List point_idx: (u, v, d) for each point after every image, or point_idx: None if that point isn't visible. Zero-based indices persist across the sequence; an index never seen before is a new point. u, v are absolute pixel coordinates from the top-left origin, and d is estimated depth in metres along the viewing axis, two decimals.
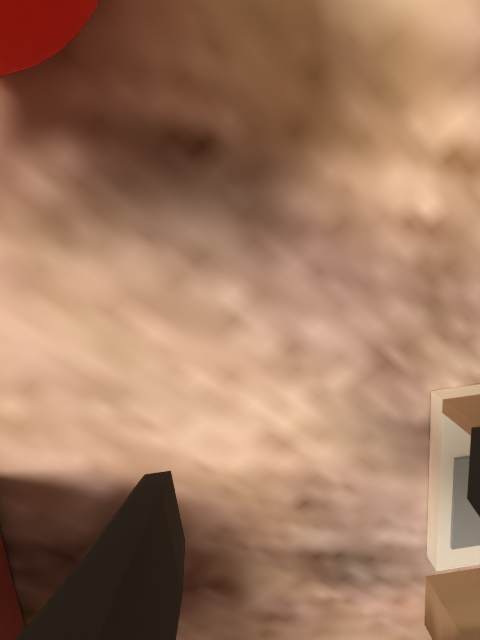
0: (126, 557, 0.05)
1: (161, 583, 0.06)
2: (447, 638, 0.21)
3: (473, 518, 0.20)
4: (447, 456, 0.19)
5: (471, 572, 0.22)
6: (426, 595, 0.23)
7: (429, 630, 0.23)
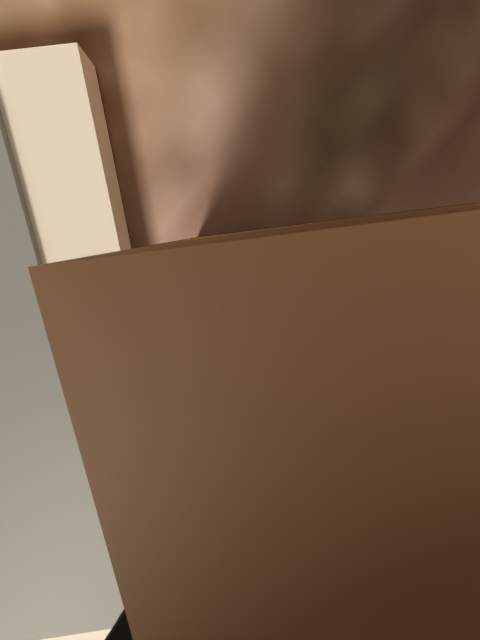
0: None
1: None
2: None
3: (56, 605, 0.10)
4: None
5: None
6: None
7: None
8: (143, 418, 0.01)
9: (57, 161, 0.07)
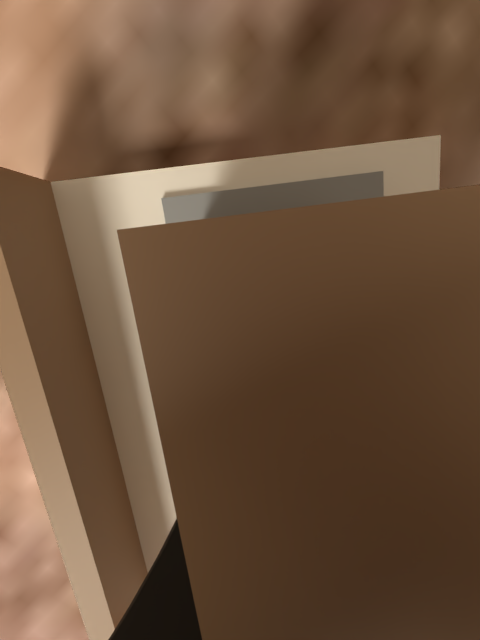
0: None
1: None
2: None
3: None
4: None
5: None
6: None
7: None
8: (172, 314, 0.02)
9: None
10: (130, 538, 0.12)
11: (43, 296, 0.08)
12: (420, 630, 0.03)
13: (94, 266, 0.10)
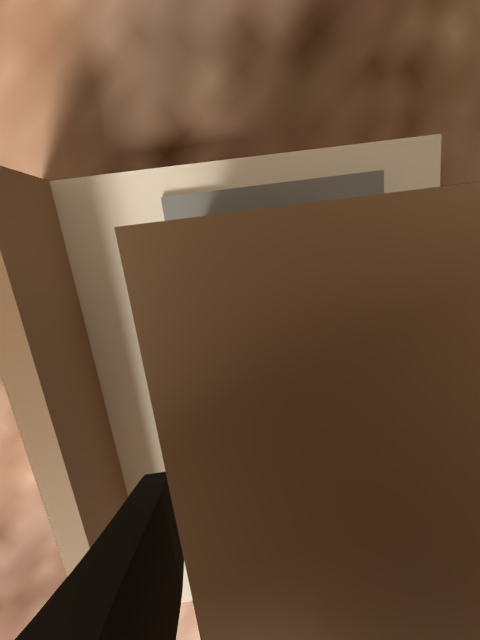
0: (126, 557, 0.05)
1: (161, 583, 0.06)
2: None
3: None
4: None
5: None
6: None
7: None
8: (171, 313, 0.02)
9: None
10: None
11: (42, 295, 0.08)
12: (422, 633, 0.03)
13: (94, 265, 0.10)
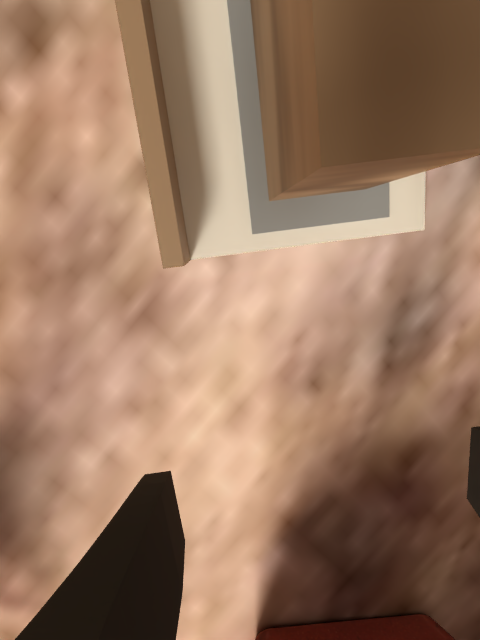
0: (126, 557, 0.05)
1: (161, 583, 0.06)
2: (330, 188, 0.13)
3: (343, 194, 0.15)
4: (249, 243, 0.16)
5: (262, 125, 0.14)
6: (303, 196, 0.15)
7: (365, 188, 0.15)
8: None
9: None
10: (173, 160, 0.14)
11: None
12: None
13: None
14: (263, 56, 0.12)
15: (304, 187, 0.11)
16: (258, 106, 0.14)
